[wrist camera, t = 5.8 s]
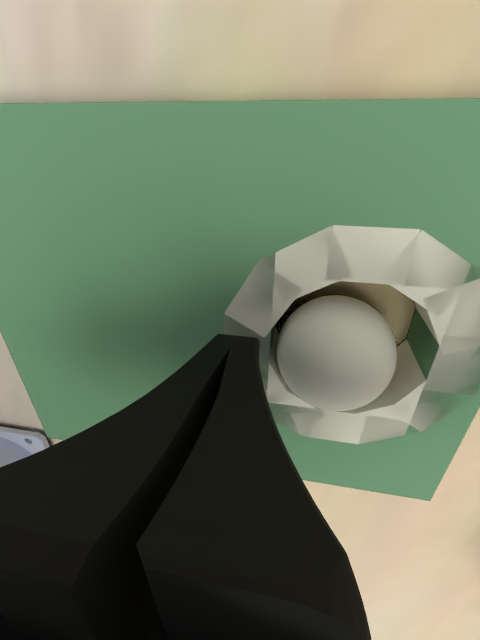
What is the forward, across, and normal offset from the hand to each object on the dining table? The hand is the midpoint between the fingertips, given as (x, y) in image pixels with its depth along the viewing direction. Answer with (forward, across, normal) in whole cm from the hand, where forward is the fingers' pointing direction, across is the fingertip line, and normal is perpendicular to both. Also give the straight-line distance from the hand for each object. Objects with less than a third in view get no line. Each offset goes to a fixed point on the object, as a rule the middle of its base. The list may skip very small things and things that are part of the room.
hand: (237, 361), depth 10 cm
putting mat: (+3, +1, 0) cm, 4 cm away
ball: (+2, -3, 0) cm, 4 cm away
